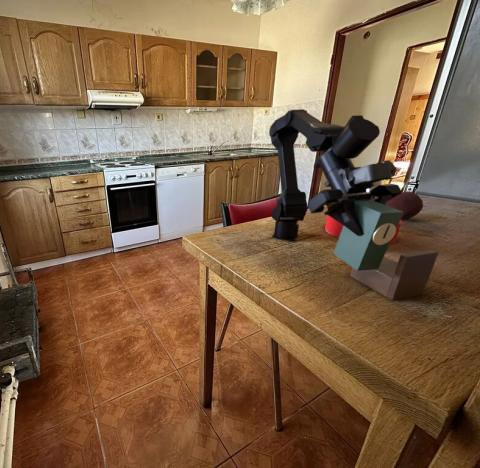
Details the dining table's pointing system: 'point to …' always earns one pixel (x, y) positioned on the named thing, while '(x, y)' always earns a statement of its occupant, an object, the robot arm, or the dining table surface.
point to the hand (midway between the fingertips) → (371, 233)
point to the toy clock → (336, 227)
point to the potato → (406, 204)
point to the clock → (368, 235)
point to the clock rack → (399, 275)
